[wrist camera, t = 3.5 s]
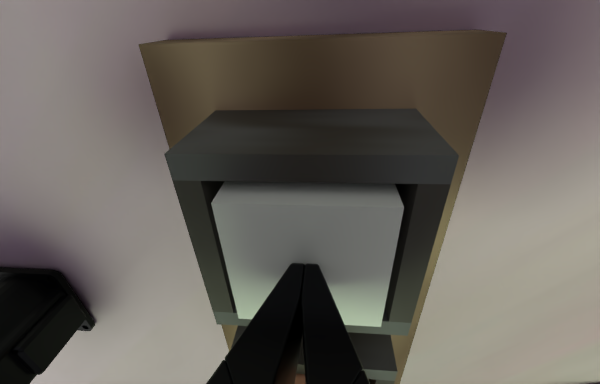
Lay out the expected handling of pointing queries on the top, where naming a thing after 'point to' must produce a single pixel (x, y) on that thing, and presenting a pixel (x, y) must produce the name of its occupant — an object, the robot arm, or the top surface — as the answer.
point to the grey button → (310, 240)
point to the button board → (327, 143)
